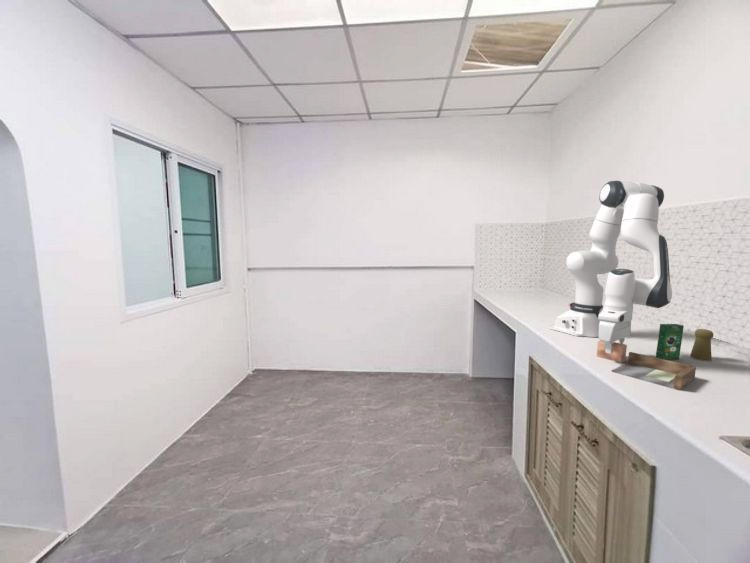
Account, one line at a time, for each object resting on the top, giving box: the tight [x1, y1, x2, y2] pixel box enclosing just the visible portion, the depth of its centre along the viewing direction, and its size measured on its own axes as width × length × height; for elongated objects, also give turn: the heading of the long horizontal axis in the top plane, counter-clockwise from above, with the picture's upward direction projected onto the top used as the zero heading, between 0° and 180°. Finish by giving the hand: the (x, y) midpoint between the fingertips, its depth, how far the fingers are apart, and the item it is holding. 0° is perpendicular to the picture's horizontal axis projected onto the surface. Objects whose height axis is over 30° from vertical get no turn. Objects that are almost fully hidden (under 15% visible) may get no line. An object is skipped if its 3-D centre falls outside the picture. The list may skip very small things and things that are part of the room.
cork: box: [689, 328, 714, 362], centre depth 133 cm, size 6×6×11 cm
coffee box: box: [655, 323, 684, 360], centre depth 132 cm, size 8×3×13 cm, turn 101°
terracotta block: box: [596, 340, 628, 364], centre depth 130 cm, size 8×4×6 cm, turn 36°
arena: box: [611, 351, 697, 391], centre depth 115 cm, size 18×16×4 cm
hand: (613, 350), depth 130 cm, fingers open, 8 cm apart
